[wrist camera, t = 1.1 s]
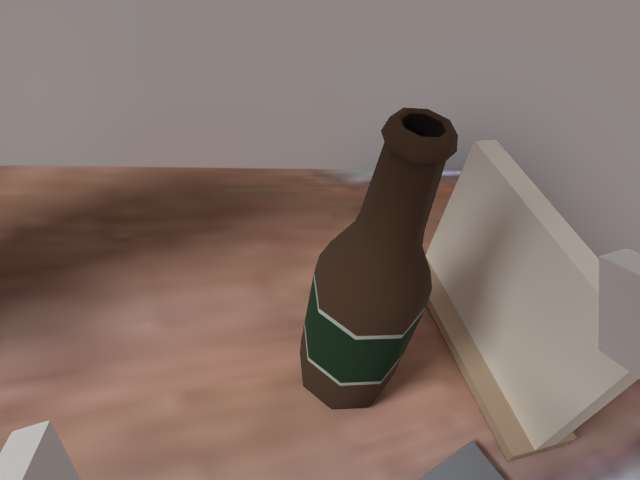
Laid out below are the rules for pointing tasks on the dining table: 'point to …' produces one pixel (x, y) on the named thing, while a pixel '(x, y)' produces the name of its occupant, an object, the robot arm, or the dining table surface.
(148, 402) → the dining table surface
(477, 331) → the screen
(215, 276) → the dining table surface
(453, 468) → the mat
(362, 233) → the beer bottle
